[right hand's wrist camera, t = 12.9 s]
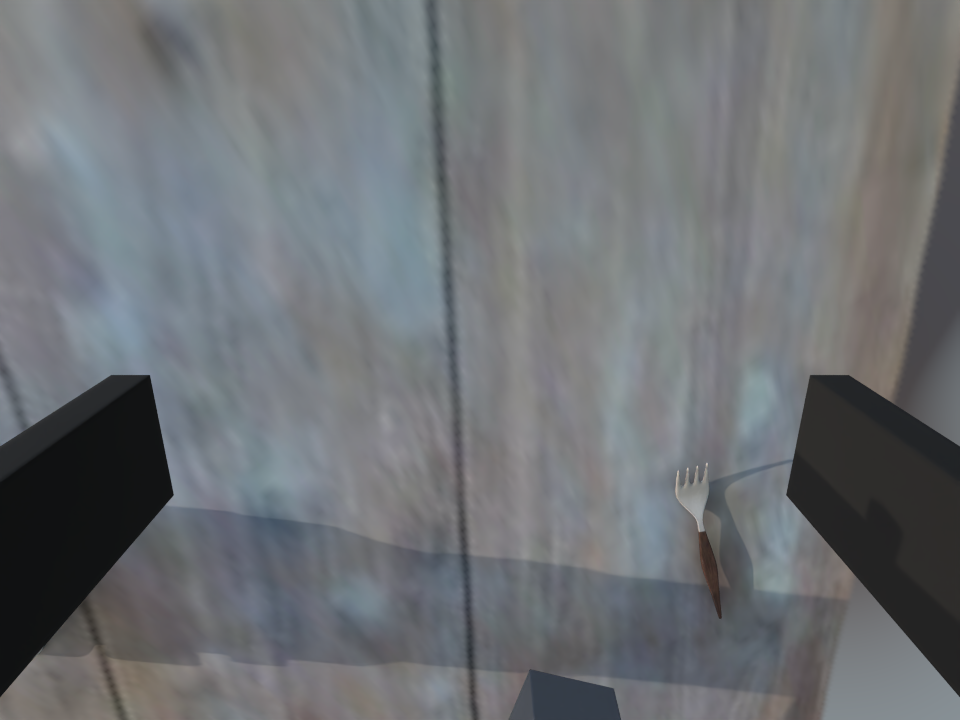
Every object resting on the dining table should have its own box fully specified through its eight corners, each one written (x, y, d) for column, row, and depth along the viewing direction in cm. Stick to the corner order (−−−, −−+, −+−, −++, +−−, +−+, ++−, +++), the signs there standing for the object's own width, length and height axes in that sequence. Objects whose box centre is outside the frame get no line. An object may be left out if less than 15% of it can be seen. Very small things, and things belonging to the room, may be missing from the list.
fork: (702, 617, 52) (710, 635, 50) (667, 458, 46) (675, 471, 44) (733, 610, 51) (742, 628, 49) (701, 449, 46) (710, 462, 44)
